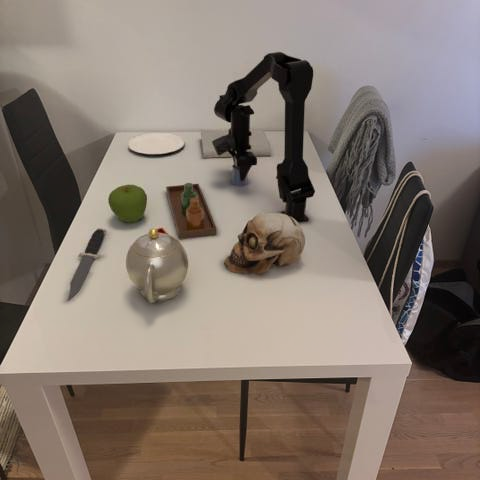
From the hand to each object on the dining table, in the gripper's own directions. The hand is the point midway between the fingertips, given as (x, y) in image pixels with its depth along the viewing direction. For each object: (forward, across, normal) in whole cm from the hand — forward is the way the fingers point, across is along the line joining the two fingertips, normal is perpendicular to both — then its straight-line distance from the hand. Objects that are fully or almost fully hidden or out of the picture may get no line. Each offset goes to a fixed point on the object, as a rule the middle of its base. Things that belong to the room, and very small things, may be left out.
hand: (239, 176), depth 153 cm
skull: (+2, +46, -5) cm, 46 cm away
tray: (+2, +16, -19) cm, 25 cm away
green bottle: (+1, +18, -19) cm, 26 cm away
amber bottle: (+1, +27, -19) cm, 33 cm away
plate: (+2, -36, -23) cm, 43 cm away
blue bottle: (+2, 0, 0) cm, 2 cm away
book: (+3, -29, +5) cm, 30 cm away
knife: (+2, +37, -48) cm, 61 cm away
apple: (+2, +17, -36) cm, 40 cm away
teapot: (+2, +54, -32) cm, 63 cm away
